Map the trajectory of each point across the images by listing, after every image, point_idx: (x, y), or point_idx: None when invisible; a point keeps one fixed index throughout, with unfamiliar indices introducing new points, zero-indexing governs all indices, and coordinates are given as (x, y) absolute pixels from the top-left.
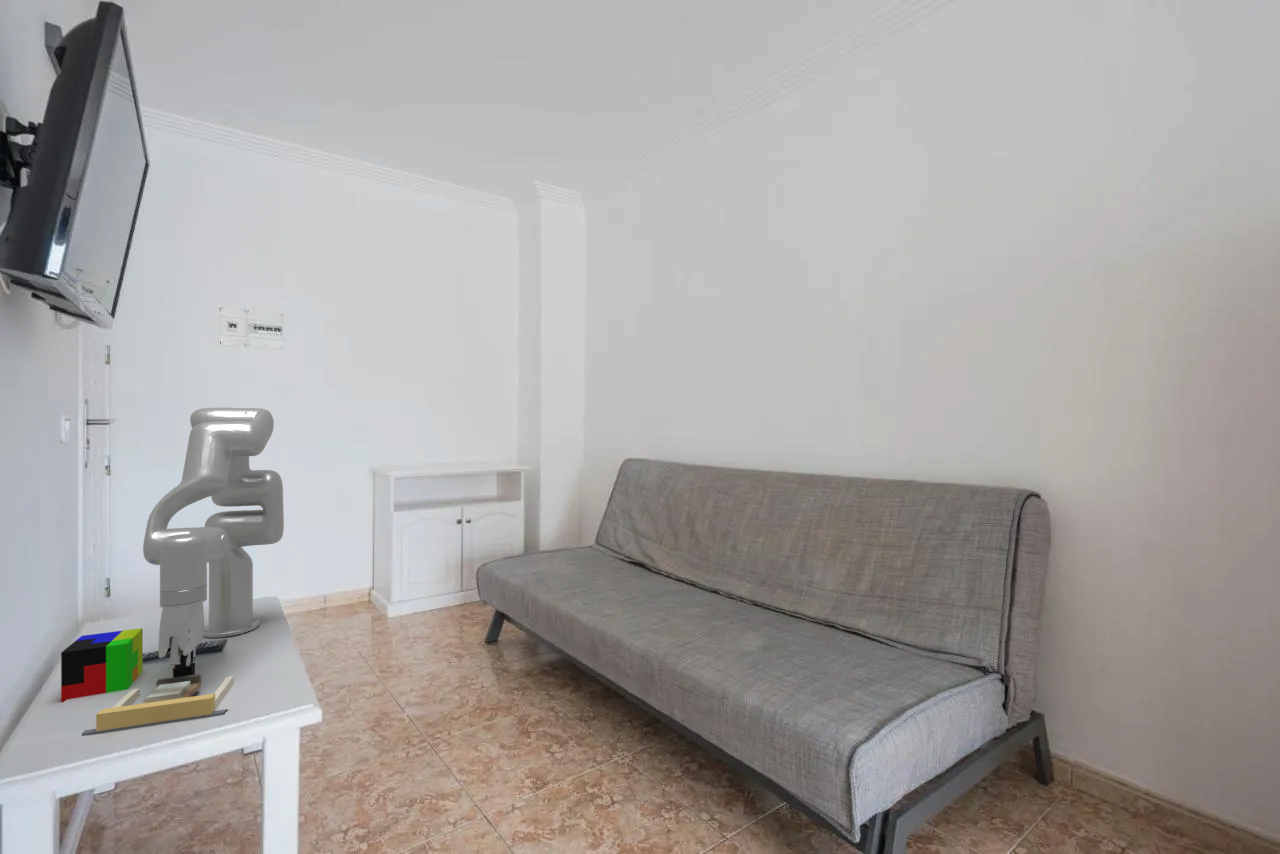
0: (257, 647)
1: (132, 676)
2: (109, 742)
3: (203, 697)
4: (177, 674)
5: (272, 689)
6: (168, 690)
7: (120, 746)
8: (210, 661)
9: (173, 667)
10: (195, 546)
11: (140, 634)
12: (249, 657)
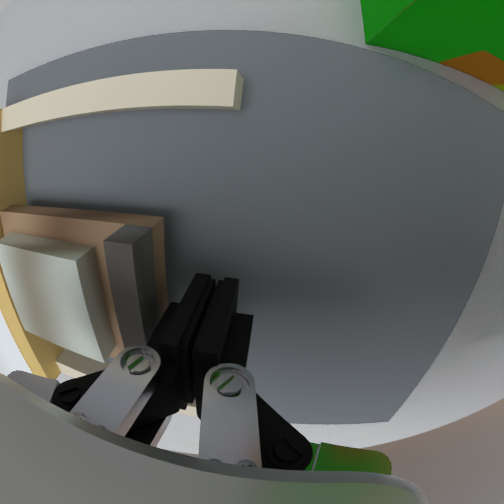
0: (485, 383)
1: (459, 54)
2: None
3: (33, 365)
4: (155, 334)
5: (165, 430)
6: (33, 302)
7: None
8: (496, 307)
9: (121, 355)
10: None
11: None
12: (438, 391)
